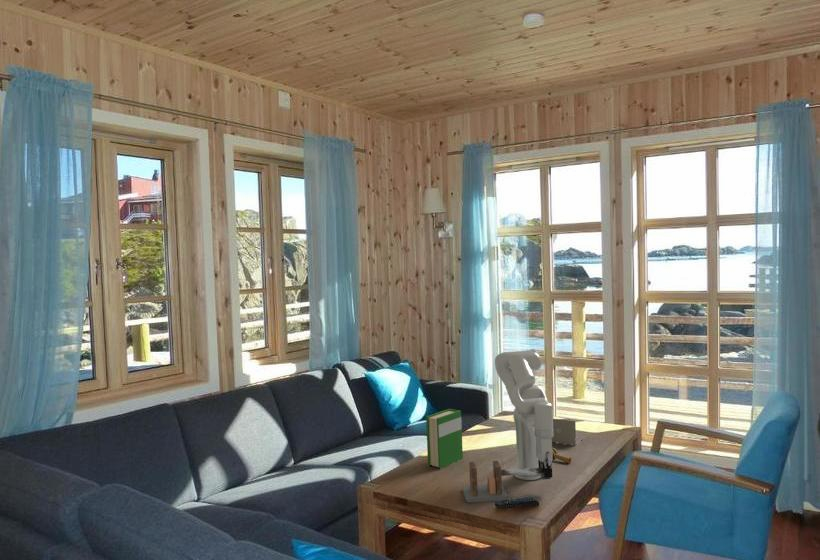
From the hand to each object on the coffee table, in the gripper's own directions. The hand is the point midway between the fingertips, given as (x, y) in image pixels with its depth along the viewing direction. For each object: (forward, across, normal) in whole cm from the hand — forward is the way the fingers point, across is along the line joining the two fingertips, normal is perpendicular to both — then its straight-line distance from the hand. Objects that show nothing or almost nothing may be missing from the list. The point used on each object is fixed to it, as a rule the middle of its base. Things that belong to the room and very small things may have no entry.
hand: (545, 473), depth 259 cm
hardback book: (+8, -43, -38) cm, 58 cm away
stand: (+6, 0, -25) cm, 26 cm away
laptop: (+8, -70, +26) cm, 75 cm away
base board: (+8, 0, -25) cm, 26 cm away
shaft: (+2, 0, -9) cm, 9 cm away
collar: (+6, 0, -23) cm, 23 cm away
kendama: (+8, -40, +13) cm, 43 cm away
